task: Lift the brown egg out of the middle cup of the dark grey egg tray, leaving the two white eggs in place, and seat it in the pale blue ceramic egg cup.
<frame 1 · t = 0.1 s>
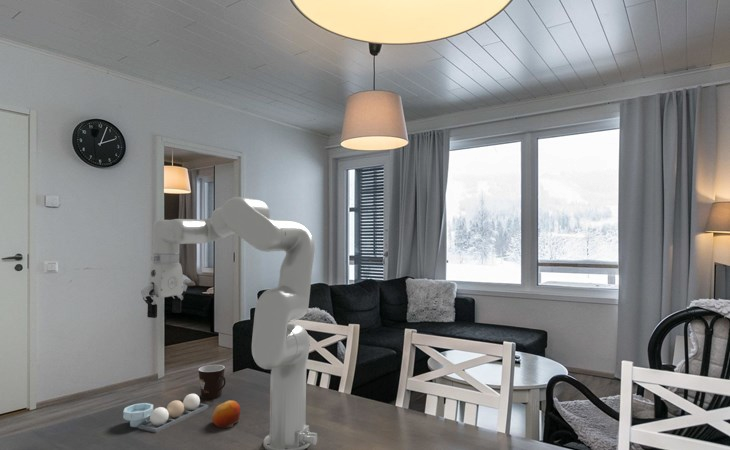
hand: (164, 314, 140), 31 cm above the table, tool pointing down, fingers open, 9 cm apart
coffee mug: (211, 399, 155), on the table
egg white b: (158, 425, 131), point 1 cm above the table, tilted 9°, touching egg cup, egg tray
fruit: (226, 425, 133), on the table
egg tray: (175, 419, 137), on the table
egg brown: (175, 417, 137), resting on egg tray
egg cup: (138, 425, 132), on the table
egg white a: (191, 409, 143), resting on egg tray
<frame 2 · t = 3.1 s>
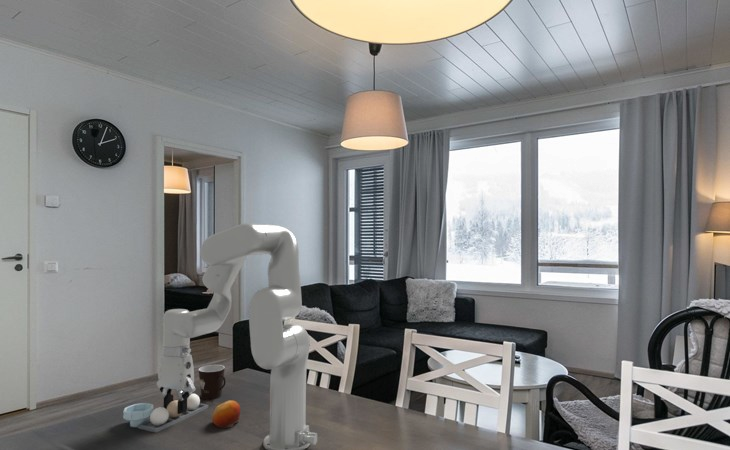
hand: (175, 410, 137), 3 cm above the table, tool pointing down, fingers closed on egg brown, 4 cm apart
egg brown: (175, 417, 137), resting on egg tray, touching gripper
everything else where it was.
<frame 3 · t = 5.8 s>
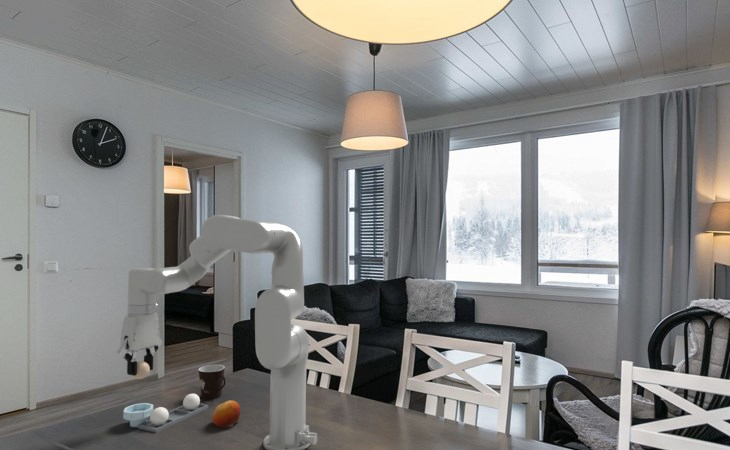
hand: (140, 371, 133), 16 cm above the table, tool pointing down, fingers closed on egg brown, 4 cm apart
egg brown: (140, 378, 133), point 14 cm above the table, touching gripper
everything else where it was.
when the fingers open (6 cm above the table, at t = 8.3 s): egg brown stays where it is, resting on egg cup.
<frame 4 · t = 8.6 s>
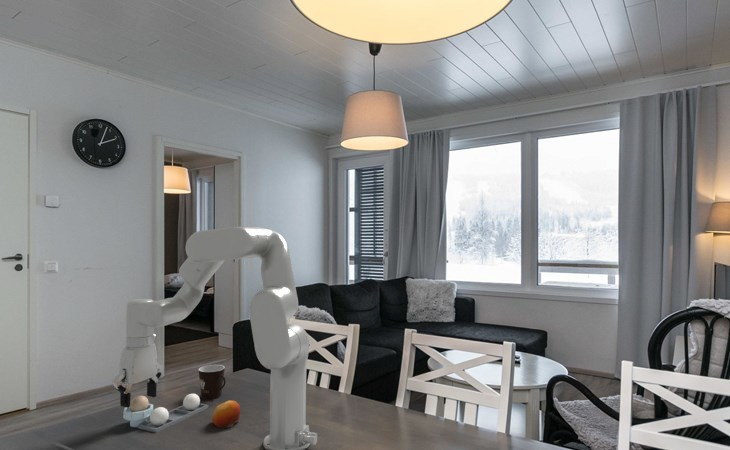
hand: (138, 401, 133), 7 cm above the table, tool pointing down, fingers open, 8 cm apart
egg brown: (138, 413, 133), point 4 cm above the table, touching egg cup
everything else where it was.
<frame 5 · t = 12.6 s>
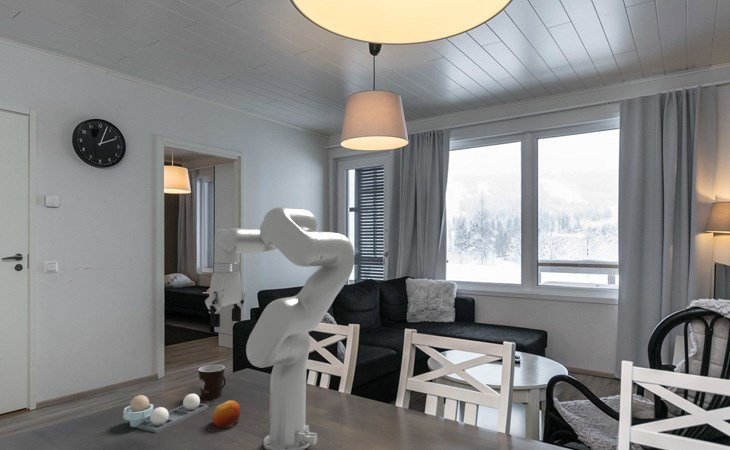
hand: (226, 323, 141), 28 cm above the table, tool pointing down, fingers open, 9 cm apart
nothing on the table moved.
at the end: egg brown 0.0 cm off-centre on the egg cup, point 3.6 cm above the egg cup's base; the gripper is holding nothing; egg white b moved 0.4 cm from its start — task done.
